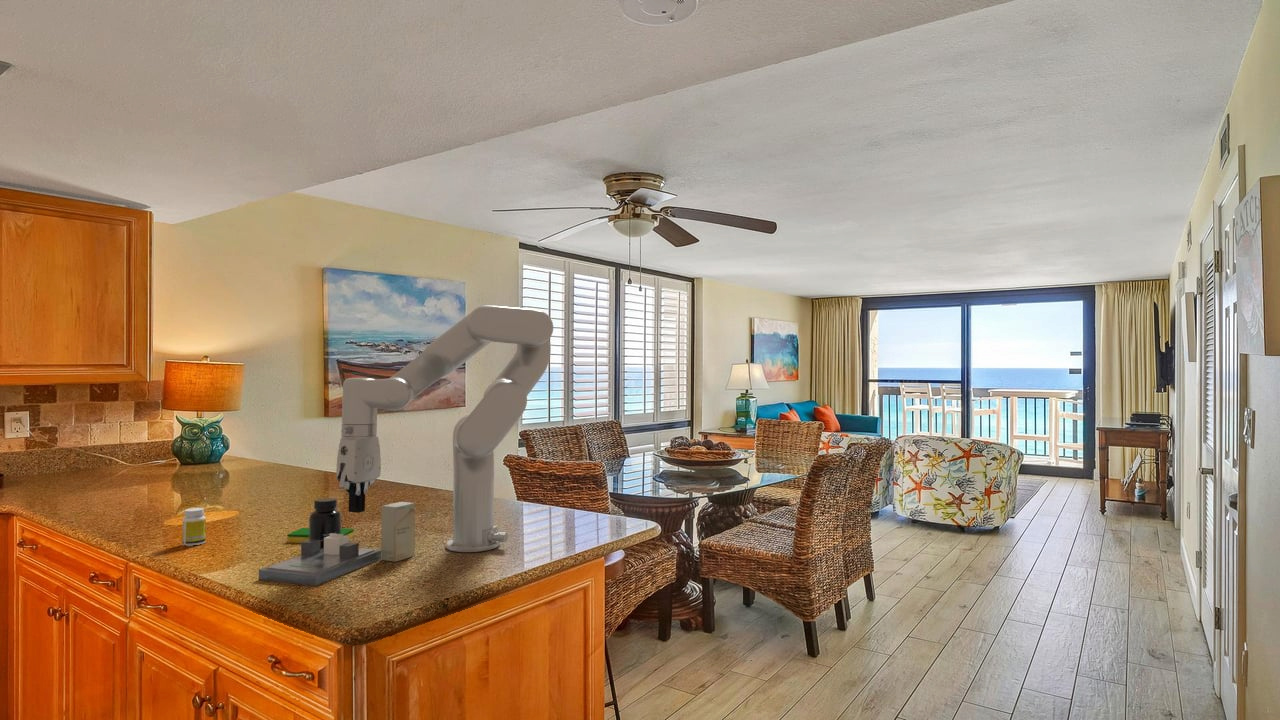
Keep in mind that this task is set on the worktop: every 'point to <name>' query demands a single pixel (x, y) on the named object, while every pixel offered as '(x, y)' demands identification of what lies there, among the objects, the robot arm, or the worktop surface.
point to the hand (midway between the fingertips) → (356, 511)
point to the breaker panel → (319, 564)
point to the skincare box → (398, 531)
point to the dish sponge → (303, 535)
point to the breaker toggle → (334, 543)
